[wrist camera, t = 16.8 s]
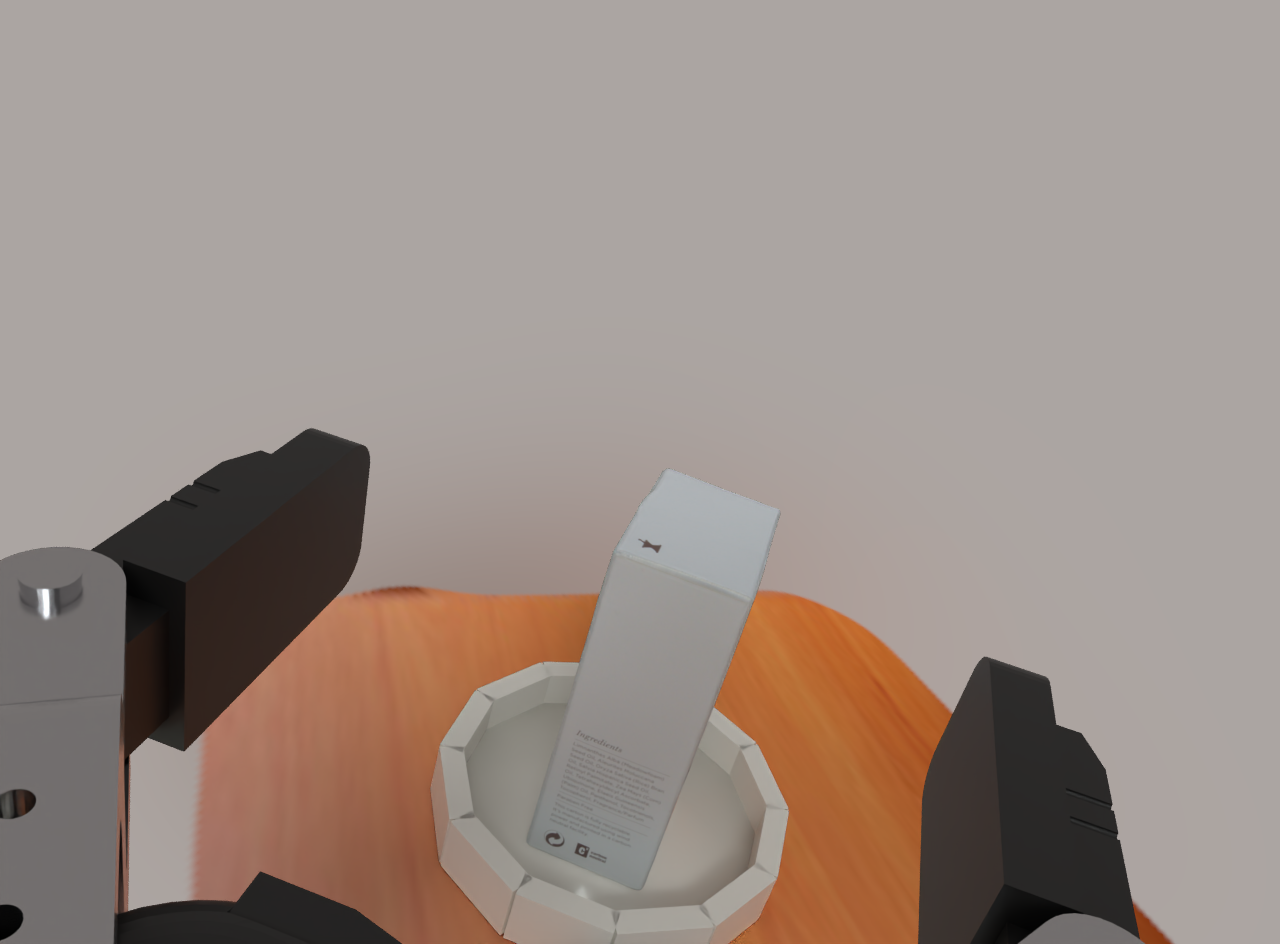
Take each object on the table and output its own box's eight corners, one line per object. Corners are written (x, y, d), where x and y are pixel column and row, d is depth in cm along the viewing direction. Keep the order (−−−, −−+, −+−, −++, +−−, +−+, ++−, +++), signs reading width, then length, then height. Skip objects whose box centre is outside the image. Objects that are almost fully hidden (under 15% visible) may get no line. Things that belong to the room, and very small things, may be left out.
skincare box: (643, 898, 33) (755, 603, 28) (521, 847, 34) (607, 548, 28) (685, 774, 39) (786, 506, 33) (579, 732, 39) (661, 461, 34)
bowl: (786, 769, 41) (802, 732, 40) (737, 1034, 31) (758, 992, 30) (508, 663, 43) (517, 624, 42) (369, 883, 32) (378, 838, 31)
